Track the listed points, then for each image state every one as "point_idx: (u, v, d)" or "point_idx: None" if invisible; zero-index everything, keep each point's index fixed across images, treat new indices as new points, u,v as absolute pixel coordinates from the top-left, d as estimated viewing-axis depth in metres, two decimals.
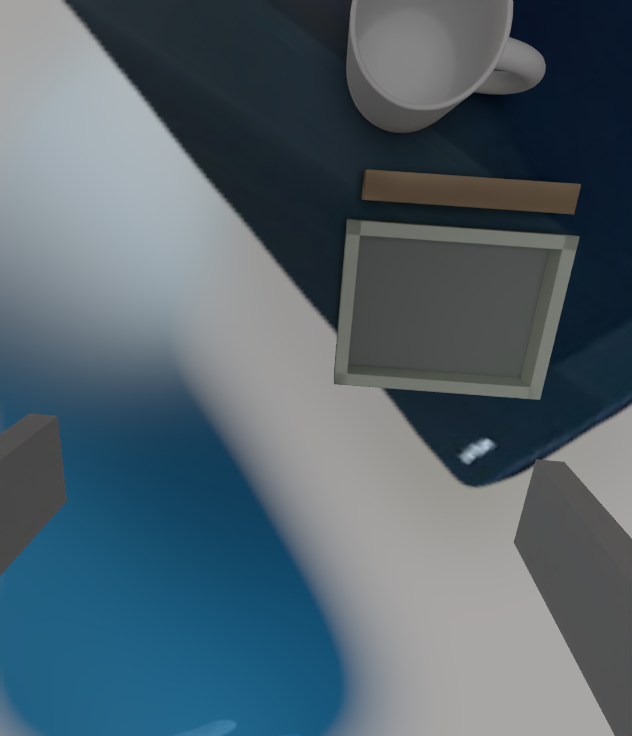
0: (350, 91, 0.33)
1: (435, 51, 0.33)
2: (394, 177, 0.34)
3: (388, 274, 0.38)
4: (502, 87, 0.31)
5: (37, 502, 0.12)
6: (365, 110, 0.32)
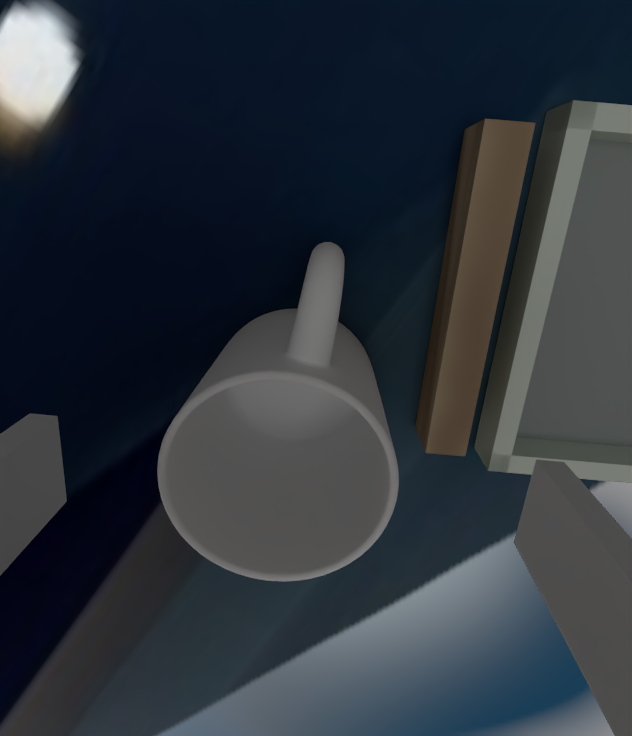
0: None
1: None
2: (440, 416, 0.23)
3: (564, 394, 0.25)
4: None
5: (37, 502, 0.12)
6: None
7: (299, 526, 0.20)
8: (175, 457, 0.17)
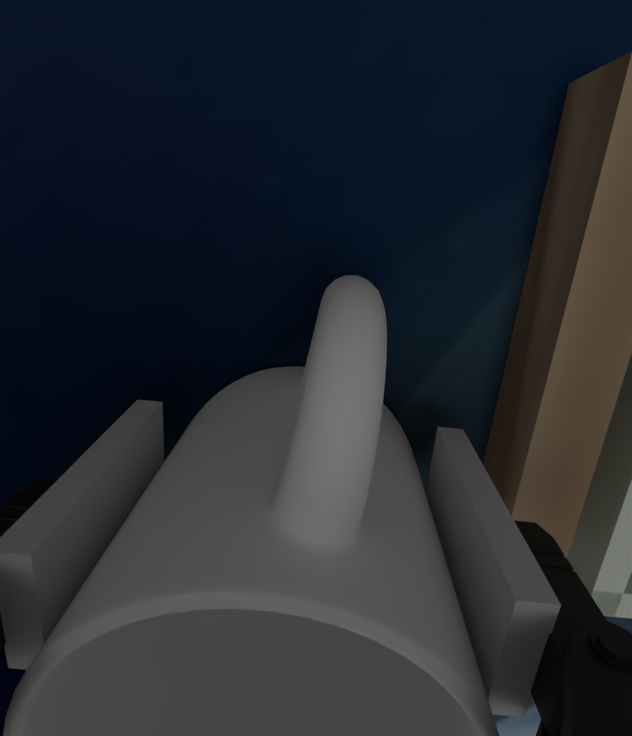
0: None
1: None
2: None
3: None
4: None
5: (149, 479, 0.14)
6: None
7: None
8: (59, 696, 0.09)
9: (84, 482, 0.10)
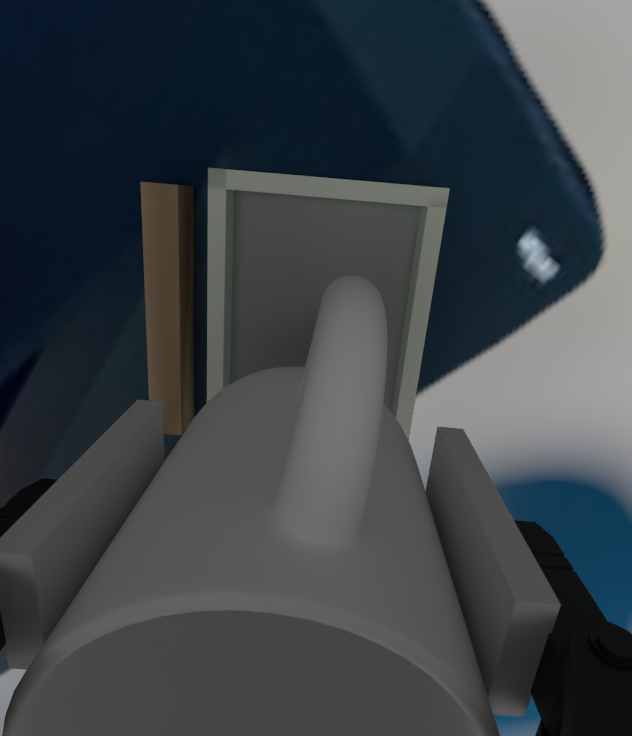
0: None
1: None
2: None
3: None
4: None
5: (149, 479, 0.14)
6: None
7: None
8: (58, 698, 0.09)
9: (84, 482, 0.10)
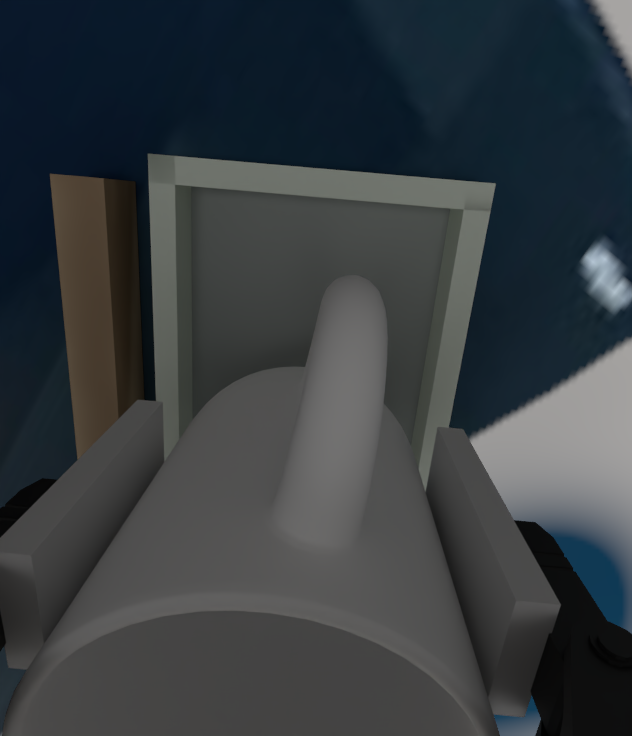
0: None
1: None
2: None
3: None
4: None
5: (149, 478, 0.14)
6: None
7: None
8: (58, 698, 0.09)
9: (84, 482, 0.10)
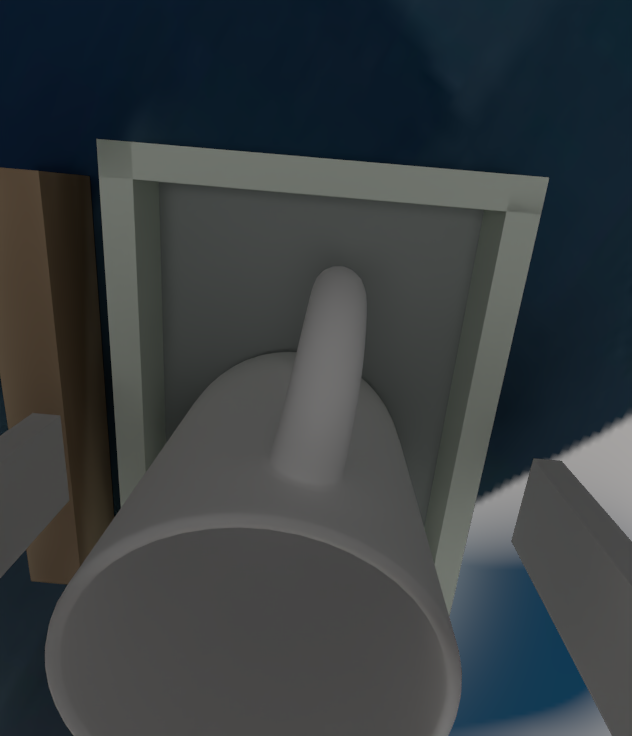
0: None
1: None
2: (36, 539, 0.18)
3: None
4: None
5: (40, 501, 0.12)
6: None
7: (291, 695, 0.13)
8: (87, 621, 0.11)
9: None
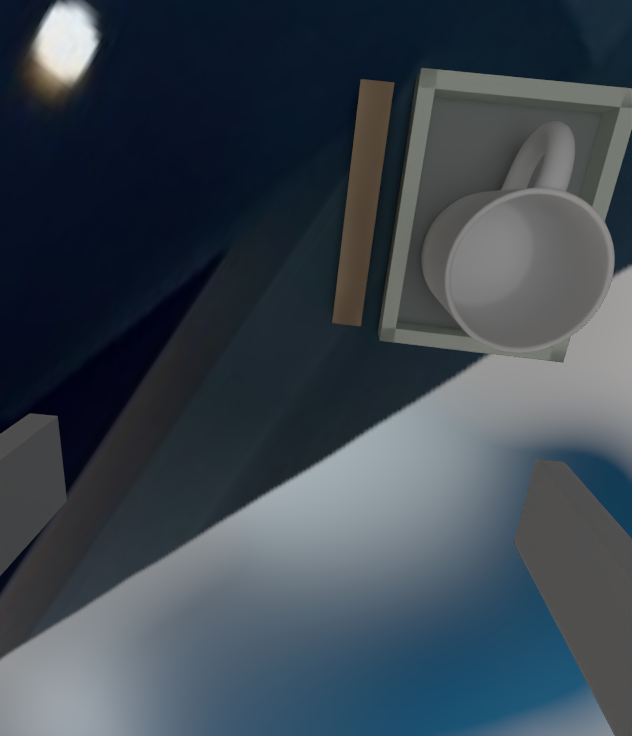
0: None
1: None
2: (341, 295, 0.33)
3: None
4: (539, 157, 0.28)
5: (37, 502, 0.12)
6: None
7: (510, 333, 0.28)
8: None
9: None
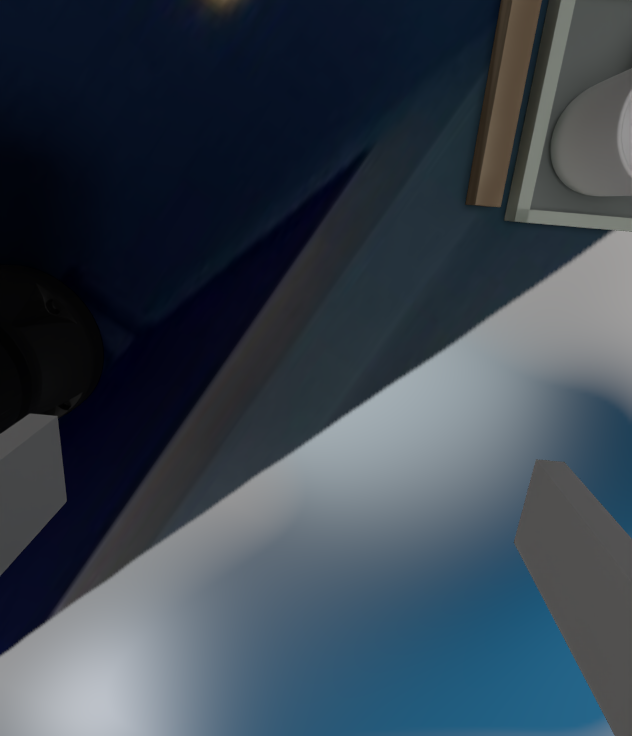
0: None
1: None
2: (485, 177, 0.37)
3: None
4: None
5: (37, 502, 0.12)
6: None
7: None
8: None
9: None
